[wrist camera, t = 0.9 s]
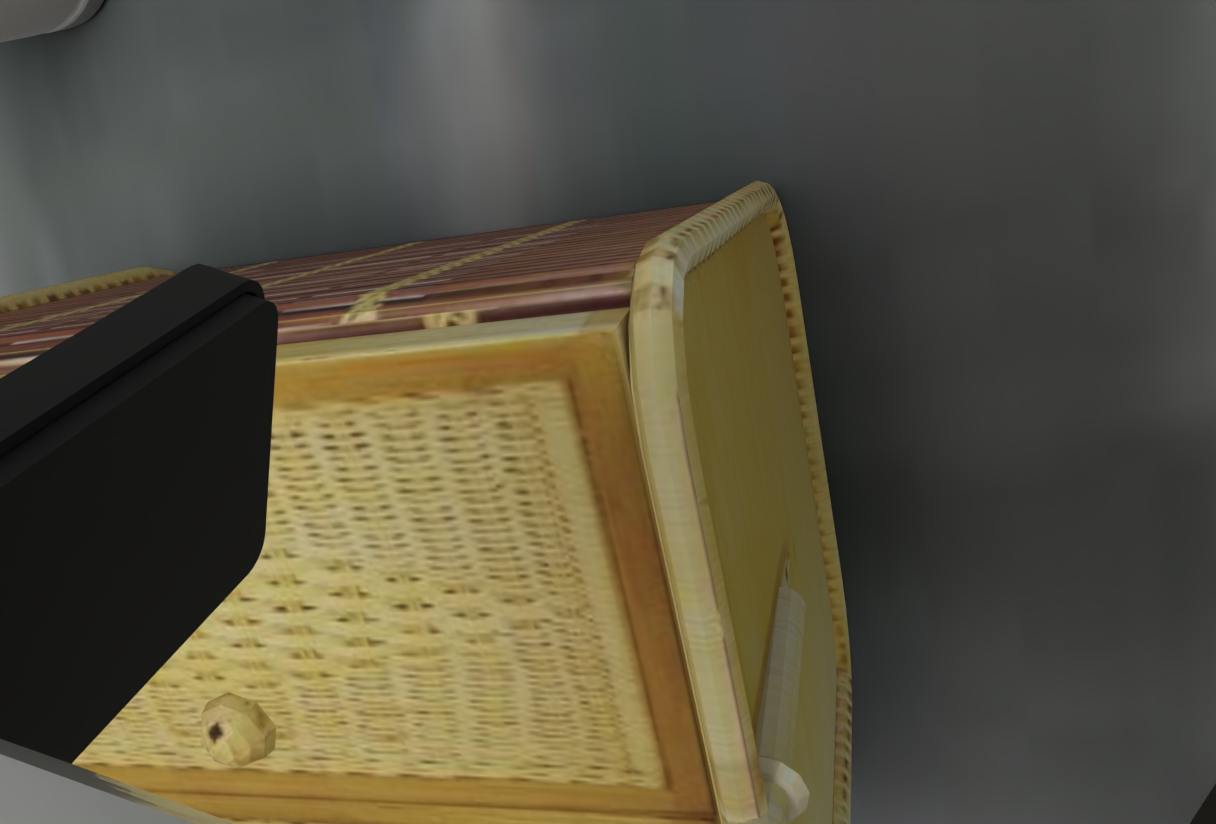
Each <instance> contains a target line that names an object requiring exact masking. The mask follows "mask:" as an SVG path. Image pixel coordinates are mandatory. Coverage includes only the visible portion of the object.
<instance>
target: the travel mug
mask: <svg viewBox="0 0 1216 824" xmlns="http://www.w3.org/2000/svg"><path fill="white" fill-rule="evenodd" d="M103 1H104V0H0V43H2V42H7V41H11V40H16V39H21V38H26V37H31V36H36V35H40V34H44V33H51V32H56V31H61V30H66V29H70V28H73V27H76V26H79V25H81V24H83V23H84V22H86V21H87V20H89V19H90V18H91V17H92V16H93V15H94V14H95V13H96V12H97V11H98V9H99V8H100V7H101V5H102V3H103Z"/></svg>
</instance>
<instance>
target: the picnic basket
mask: <svg viewBox="0 0 1216 824" xmlns="http://www.w3.org/2000/svg"><path fill="white" fill-rule="evenodd" d="M219 270H222V271H225V272H228V273H232V274H235V275H238V276H241V277H245V278H248V279H251V280H255V281H257V282H258V283H259V284H260V285H261V286H262V289H263V292H264V295H265V300H268V301H271V302H273V303H274V304H275V305H276V307H277V311H278V335H277V351H276V368H275V384H274V401H273V417H272V434H271V450H270V467H269V483H268V500H267V516H266V533H265V540H264V544H263V548H262V551H261V553H260V556H259V558H258V560H257V562H256V564H255V566H254V567H253V569H252V570H251V571H250V573H249V574H248V575H247V576H246V577H245V578H244V579H243V580H242V582H241V583H240V584H239V585H238V586H237V587H236V588H235V589H234V590H233V591H232V592H231V593H230V594H229V595H228V597H227V598H226V599H225V600H224V601H223V602H222V603H221V604H220V605H219V606H218V607H217V608H216V609H215V610H214V612H213V613H212V614H211V615H210V616H209V617H208V618H207V619H206V620H205V621H204V622H203V623H202V624H201V625H200V627H199V628H198V629H197V630H196V631H195V632H194V633H193V634H192V635H191V636H190V637H189V638H188V639H187V640H186V642H185V643H184V644H183V645H182V646H181V647H180V648H179V649H178V650H177V651H176V652H175V653H174V654H173V656H172V657H171V658H170V659H169V660H168V661H167V662H166V663H165V664H164V665H163V666H162V667H161V668H160V669H159V671H158V672H157V673H156V674H155V675H154V676H153V677H152V678H151V679H150V680H149V681H148V682H147V683H146V684H145V686H144V687H143V688H142V689H141V690H140V691H139V692H138V693H137V694H136V695H135V696H134V697H133V698H132V699H131V701H130V702H129V703H128V704H127V705H126V706H125V707H124V708H123V709H122V710H121V711H120V712H119V713H118V714H117V716H116V717H115V718H114V719H113V720H112V721H111V722H110V723H109V724H108V725H107V726H106V727H105V728H104V730H103V731H102V732H101V733H100V734H99V735H98V736H97V737H96V738H95V739H94V740H93V741H92V742H91V743H90V745H89V746H88V747H87V748H86V749H85V750H84V751H83V752H82V753H81V754H80V755H79V756H78V757H77V758H76V760H75V761H74V762H73V763H72V764H73V765H76V766H79V767H82V768H84V769H87V770H90V771H93V772H96V773H99V774H101V775H104V776H107V777H109V778H112V779H115V780H118V781H120V782H123V783H126V784H128V785H131V786H134V787H137V788H139V789H142V790H145V791H148V792H150V793H153V794H156V795H158V796H161V797H164V798H167V799H169V800H172V801H175V802H177V803H180V804H183V805H186V806H188V807H191V808H194V809H197V810H199V811H202V812H205V813H207V814H210V815H213V816H216V817H218V818H221V819H224V820H227V821H229V822H232V823H235V824H851V752H852V675H851V659H850V644H849V633H848V623H847V613H846V604H845V597H844V589H843V581H842V574H841V567H840V561H839V554H838V547H837V541H836V534H835V527H834V520H833V514H832V507H831V500H830V494H829V487H828V480H827V474H826V467H825V460H824V453H823V447H822V440H821V433H820V427H819V420H818V413H817V407H816V400H815V393H814V386H813V380H812V373H811V366H810V360H809V353H808V346H807V340H806V333H805V326H804V320H803V313H802V306H801V299H800V293H799V286H798V280H797V274H796V268H795V262H794V256H793V250H792V245H791V241H790V236H789V232H788V227H787V223H786V218H785V215H784V212H783V209H782V206H781V203H780V200H779V198H778V196H777V194H776V192H775V190H774V189H773V188H772V186H771V185H770V184H769V183H765V182H761V181H758V180H756V181H754V182H752V183H750V184H748V185H746V186H745V187H743V188H741V189H739V190H738V191H736V192H734V193H732V194H731V195H729V196H727V197H725V198H723V199H722V200H720V201H717V202H709V203H702V204H695V205H687V206H680V207H672V208H665V209H658V210H650V211H643V212H636V213H628V214H621V215H614V216H606V217H599V218H591V219H584V220H577V221H569V222H562V223H555V224H547V225H540V226H533V227H525V228H518V229H510V230H503V231H496V232H488V233H481V234H474V235H466V236H459V237H451V238H444V239H437V240H429V241H422V242H415V243H407V244H400V245H393V246H385V247H378V248H370V249H363V250H356V251H348V252H341V253H334V254H326V255H319V256H312V257H304V258H297V259H289V260H282V261H275V262H267V263H260V264H253V265H245V266H238V267H231V268H223V269H219ZM175 275H177V274H176V273H175V272H173V271H170V270H166V269H159V268H150V267H137V268H133V269H128V270H123V271H119V272H114V273H109V274H105V275H100V276H96V277H91V278H86V279H82V280H77V281H73V282H68V283H63V284H59V285H54V286H50V287H45V288H40V289H36V290H31V291H27V292H22V293H17V294H13V295H8V296H3V297H0V378H2V377H3V376H5V375H7V374H8V373H10V372H12V371H14V370H15V369H17V368H19V367H20V366H22V365H24V364H26V363H27V362H29V361H31V360H32V359H34V358H36V357H37V356H39V355H41V354H43V353H44V352H46V351H48V350H49V349H51V348H53V347H54V346H56V345H58V344H60V343H61V342H63V341H65V340H66V339H68V338H70V337H71V336H73V335H75V334H77V333H78V332H80V331H82V330H83V329H85V328H87V327H88V326H90V325H92V324H94V323H95V322H97V321H99V320H100V319H102V318H104V317H105V316H107V315H109V314H111V313H112V312H114V311H116V310H117V309H119V308H121V307H122V306H124V305H126V304H128V303H129V302H131V301H133V300H134V299H136V298H138V297H139V296H141V295H143V294H145V293H146V292H148V291H150V290H151V289H153V288H155V287H156V286H158V285H160V284H162V283H163V282H165V281H167V280H168V279H170V278H172V277H174V276H175Z"/></svg>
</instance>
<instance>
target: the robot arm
mask: <svg viewBox="0 0 1216 824" xmlns="http://www.w3.org/2000/svg"><path fill="white" fill-rule="evenodd" d="M277 335H278V311H277V307H276V305H275V304H274V303H273V302H271V301H268V300H265V295H264V292H263V289H262V286H261V285H260V284H259V283H258V282H257V281H255V280H251V279H248V278H245V277H241V276H238V275H235V274H232V273H228V272H225V271H222V270H219V269H215V268H212V267H209V266H205V265H201V264H197V265H194V266H191V267H189V268H187V269H185V270H184V271H182V272H180V273H179V274H177V275H175V276H174V277H172V278H170V279H168V280H167V281H165V282H163V283H162V284H160V285H158V286H156V287H155V288H153V289H151V290H150V291H148V292H146V293H145V294H143V295H141V296H139V297H138V298H136V299H134V300H133V301H131V302H129V303H128V304H126V305H124V306H122V307H121V308H119V309H117V310H116V311H114V312H112V313H111V314H109V315H107V316H105V317H104V318H102V319H100V320H99V321H97V322H95V323H94V324H92V325H90V326H88V327H87V328H85V329H83V330H82V331H80V332H78V333H77V334H75V335H73V336H71V337H70V338H68V339H66V340H65V341H63V342H61V343H60V344H58V345H56V346H54V347H53V348H51V349H49V350H48V351H46V352H44V353H43V354H41V355H39V356H37V357H36V358H34V359H32V360H31V361H29V362H27V363H26V364H24V365H22V366H20V367H19V368H17V369H15V370H14V371H12V372H10V373H8V374H7V375H5V376H3V377H2V378H0V824H235V823H232V822H229V821H227V820H224V819H221V818H218V817H216V816H213V815H210V814H207V813H205V812H202V811H199V810H197V809H194V808H191V807H188V806H186V805H183V804H180V803H177V802H175V801H172V800H169V799H167V798H164V797H161V796H158V795H156V794H153V793H150V792H148V791H145V790H142V789H139V788H137V787H134V786H131V785H128V784H126V783H123V782H120V781H118V780H115V779H112V778H109V777H107V776H104V775H101V774H99V773H96V772H93V771H90V770H87V769H84V768H82V767H79V766H76V765H73V764H72V763H73V762H74V761H75V760H76V758H77V757H78V756H79V755H80V754H81V753H82V752H83V751H84V750H85V749H86V748H87V747H88V746H89V745H90V743H91V742H92V741H93V740H94V739H95V738H96V737H97V736H98V735H99V734H100V733H101V732H102V731H103V730H104V728H105V727H106V726H107V725H108V724H109V723H110V722H111V721H112V720H113V719H114V718H115V717H116V716H117V714H118V713H119V712H120V711H121V710H122V709H123V708H124V707H125V706H126V705H127V704H128V703H129V702H130V701H131V699H132V698H133V697H134V696H135V695H136V694H137V693H138V692H139V691H140V690H141V689H142V688H143V687H144V686H145V684H146V683H147V682H148V681H149V680H150V679H151V678H152V677H153V676H154V675H155V674H156V673H157V672H158V671H159V669H160V668H161V667H162V666H163V665H164V664H165V663H166V662H167V661H168V660H169V659H170V658H171V657H172V656H173V654H174V653H175V652H176V651H177V650H178V649H179V648H180V647H181V646H182V645H183V644H184V643H185V642H186V640H187V639H188V638H189V637H190V636H191V635H192V634H193V633H194V632H195V631H196V630H197V629H198V628H199V627H200V625H201V624H202V623H203V622H204V621H205V620H206V619H207V618H208V617H209V616H210V615H211V614H212V613H213V612H214V610H215V609H216V608H217V607H218V606H219V605H220V604H221V603H222V602H223V601H224V600H225V599H226V598H227V597H228V595H229V594H230V593H231V592H232V591H233V590H234V589H235V588H236V587H237V586H238V585H239V584H240V583H241V582H242V580H243V579H244V578H245V577H246V576H247V575H248V574H249V573H250V571H251V570H252V569H253V567H254V566H255V564H256V562H257V560H258V558H259V556H260V553H261V551H262V548H263V544H264V540H265V533H266V516H267V500H268V483H269V467H270V450H271V434H272V417H273V401H274V384H275V368H276V351H277ZM1190 824H1216V784H1215V786H1214V787H1213V789H1212V790H1211V792H1210V793H1209V795H1208V797H1207V798H1206V800H1205V801H1204V803H1203V804H1202V806H1201V807H1200V809H1199V810H1198V812H1197V814H1196V815H1195V817H1194V818H1193V820H1192V821H1191V823H1190Z"/></svg>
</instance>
